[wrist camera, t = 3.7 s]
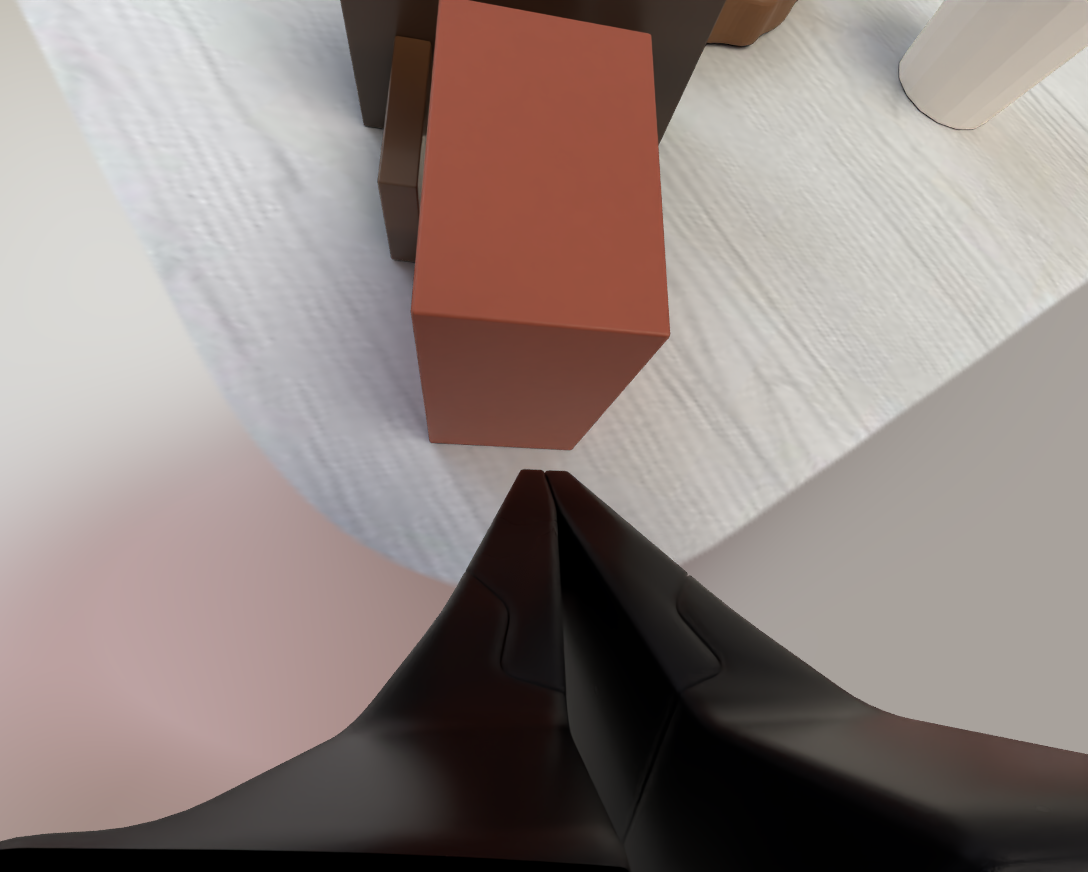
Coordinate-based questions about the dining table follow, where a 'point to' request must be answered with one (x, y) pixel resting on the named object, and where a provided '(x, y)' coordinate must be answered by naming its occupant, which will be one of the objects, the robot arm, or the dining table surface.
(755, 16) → the plant
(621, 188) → the orange rectangular block
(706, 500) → the dining table surface
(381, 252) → the dining table surface
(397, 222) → the dock
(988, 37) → the shot glass
